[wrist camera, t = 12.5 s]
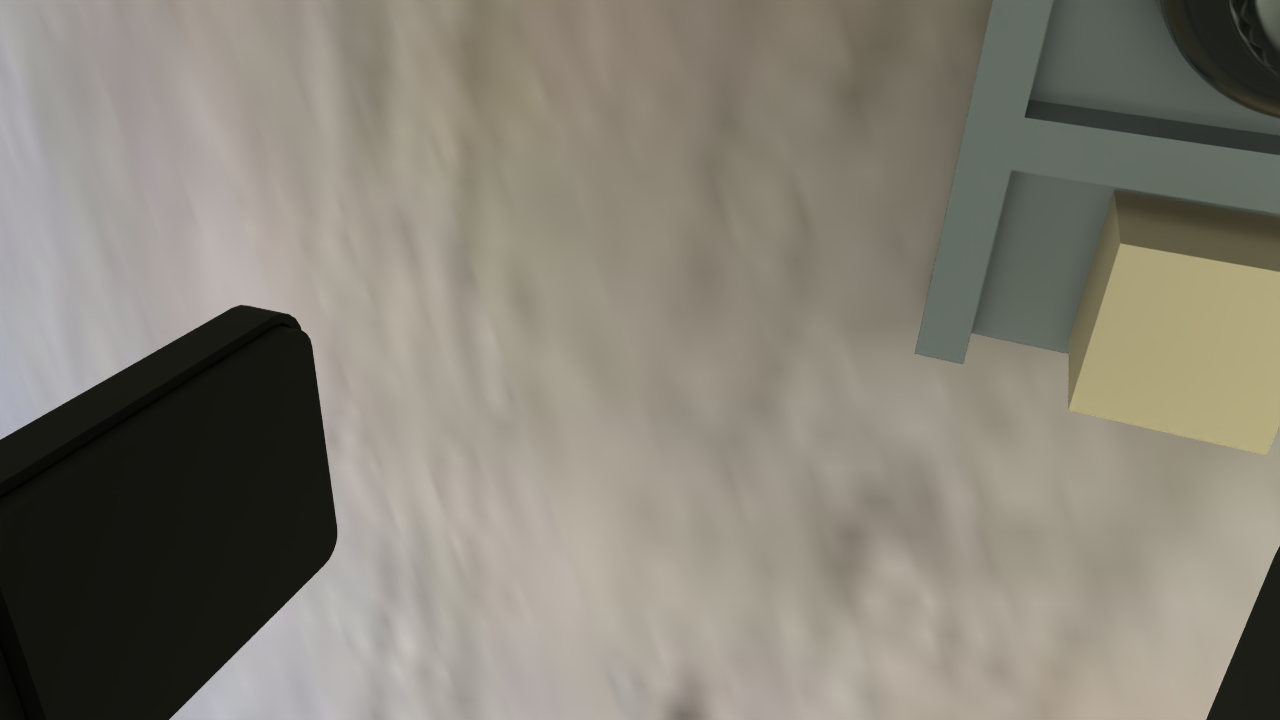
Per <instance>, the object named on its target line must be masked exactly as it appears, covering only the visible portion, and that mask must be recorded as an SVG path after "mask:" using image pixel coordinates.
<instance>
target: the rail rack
mask: <svg viewBox="0 0 1280 720" xmlns="http://www.w3.org/2000/svg"><path fill="white" fill-rule="evenodd" d="M971 333H973V334H978V335H983V336H987V337H992V338H997V339H1002V340H1006V341H1011V342H1016V343H1020V344H1025V345H1030V346H1035V347H1039V348H1044V349H1049V350H1053V351H1058V352H1063V353H1068V354H1069V396H1068V410H1069V411H1073V412H1078V413H1082V414H1087V415H1091V416H1095V417H1100V418H1104V419H1109V420H1113V421H1117V422H1122V423H1126V424H1131V425H1135V426H1139V427H1144V428H1148V429H1152V430H1157V431H1161V432H1166V433H1170V434H1174V435H1179V436H1183V437H1188V438H1192V439H1196V440H1201V441H1205V442H1210V443H1214V444H1218V445H1223V446H1227V447H1232V448H1236V449H1240V450H1245V451H1249V452H1254V453H1258V454H1262V455H1267V454H1268V451H1269V449H1270V447H1271V444H1272V442H1273V440H1274V437H1275V435H1276V433H1277V431H1278V428H1279V426H1280V119H1278V118H1274V117H1270V116H1267V115H1263V114H1260V113H1258V112H1255V111H1253V110H1250V109H1247V108H1245V107H1243V106H1241V105H1239V104H1237V103H1235V102H1233V101H1231V100H1230V99H1228V98H1227V97H1225V96H1224V95H1222V94H1221V93H1219V92H1218V91H1216V90H1215V89H1214V88H1213V87H1211V86H1210V85H1209V84H1208V83H1206V82H1205V81H1204V80H1203V79H1202V78H1201V77H1200V76H1199V75H1198V74H1197V73H1196V72H1195V71H1194V70H1193V69H1192V68H1191V66H1190V65H1189V64H1188V63H1187V61H1186V60H1185V59H1184V57H1183V56H1182V55H1181V53H1180V51H1179V50H1178V48H1177V46H1176V45H1175V43H1174V41H1173V39H1172V37H1171V35H1170V33H1169V31H1168V29H1167V27H1166V24H1165V22H1164V20H1163V18H1162V16H1161V14H1160V12H1159V10H1158V7H1157V5H1156V3H1155V1H1154V0H993V1H992V6H991V10H990V15H989V19H988V24H987V28H986V33H985V37H984V42H983V46H982V51H981V55H980V60H979V64H978V69H977V74H976V78H975V83H974V87H973V92H972V96H971V101H970V105H969V110H968V114H967V119H966V123H965V128H964V132H963V137H962V141H961V146H960V151H959V155H958V160H957V164H956V169H955V173H954V178H953V182H952V187H951V191H950V196H949V200H948V205H947V209H946V214H945V218H944V223H943V228H942V232H941V237H940V241H939V246H938V250H937V255H936V259H935V264H934V268H933V273H932V277H931V282H930V286H929V291H928V295H927V300H926V305H925V309H924V314H923V318H922V323H921V327H920V332H919V336H918V341H917V345H916V350H915V354H919V355H923V356H928V357H932V358H937V359H941V360H946V361H950V362H955V363H959V364H963V363H964V359H965V355H966V351H967V347H968V343H969V339H970V335H971Z"/></svg>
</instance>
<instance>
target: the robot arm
mask: <svg viewBox="0 0 1280 720" xmlns="http://www.w3.org/2000/svg"><path fill="white" fill-rule="evenodd" d="M336 541H337V523H336V516H335V509H334V501H333V494H332V487H331V480H330V473H329V465H328V458H327V451H326V444H325V436H324V429H323V422H322V415H321V407H320V400H319V393H318V386H317V378H316V371H315V364H314V357H313V349H312V344H311V341H310V338H309V337H308V335H307V334H306V333H305V332H303V331H302V330H301V326H300V325H299V323H298V322H297V320H296V319H295V318H294V317H292V316H291V315H289V314H285V313H280V312H275V311H271V310H266V309H261V308H256V307H251V306H244V305H239V306H236V307H234V308H231V309H229V310H228V311H226V312H224V313H222V314H221V315H219V316H217V317H215V318H214V319H212V320H210V321H208V322H207V323H205V324H203V325H201V326H200V327H198V328H196V329H194V330H193V331H191V332H189V333H187V334H186V335H184V336H182V337H180V338H179V339H177V340H175V341H173V342H171V343H170V344H168V345H166V346H164V347H163V348H161V349H159V350H157V351H156V352H154V353H152V354H150V355H149V356H147V357H145V358H143V359H142V360H140V361H138V362H136V363H135V364H133V365H131V366H129V367H128V368H126V369H124V370H122V371H121V372H119V373H117V374H115V375H114V376H112V377H110V378H108V379H107V380H105V381H103V382H101V383H99V384H98V385H96V386H94V387H92V388H91V389H89V390H87V391H85V392H84V393H82V394H80V395H78V396H77V397H75V398H73V399H71V400H70V401H68V402H66V403H64V404H63V405H61V406H59V407H57V408H56V409H54V410H52V411H50V412H49V413H47V414H45V415H43V416H42V417H40V418H38V419H36V420H35V421H33V422H31V423H29V424H27V425H26V426H24V427H22V428H20V429H19V430H17V431H15V432H13V433H12V434H10V435H8V436H6V437H5V438H3V439H1V440H0V720H169V719H170V718H171V717H172V716H173V715H174V714H175V713H176V712H177V711H178V710H179V709H180V708H181V707H182V706H183V705H184V704H185V703H186V702H187V701H188V700H189V699H190V698H191V697H192V696H193V695H194V694H195V693H196V692H197V691H198V690H199V689H200V688H201V687H202V686H203V685H204V684H205V683H206V682H207V681H208V680H209V679H210V678H211V677H212V676H213V675H214V674H215V673H216V672H217V671H218V670H219V669H220V668H221V667H222V666H223V665H224V664H225V663H226V662H227V661H228V660H229V659H230V658H231V657H232V656H233V655H234V654H235V653H236V652H237V651H238V650H239V649H240V648H241V647H242V646H243V645H244V644H245V643H246V642H248V641H249V640H250V639H251V638H252V637H253V636H254V635H255V634H256V633H257V632H258V631H259V630H260V629H261V628H262V627H263V626H264V625H265V624H266V623H267V622H268V621H269V620H270V619H271V618H272V617H273V616H274V615H275V614H276V613H277V612H278V611H279V610H280V609H281V608H282V607H283V606H284V605H285V604H286V603H287V602H288V601H289V600H290V599H291V598H292V597H293V596H294V595H295V594H296V593H297V592H298V591H299V590H300V589H301V588H302V587H303V586H304V585H305V584H306V583H307V582H308V581H309V580H310V579H311V578H312V577H313V576H314V575H315V574H316V573H317V572H318V571H319V570H320V569H321V568H322V567H323V566H324V565H325V564H326V562H327V561H328V560H329V558H330V557H331V555H332V553H333V551H334V548H335V545H336ZM1206 720H1280V547H1279V549H1278V550H1277V552H1276V554H1275V556H1274V559H1273V561H1272V564H1271V566H1270V568H1269V571H1268V573H1267V576H1266V578H1265V580H1264V583H1263V585H1262V587H1261V590H1260V592H1259V595H1258V597H1257V599H1256V602H1255V604H1254V607H1253V609H1252V611H1251V614H1250V616H1249V619H1248V621H1247V623H1246V626H1245V628H1244V631H1243V633H1242V635H1241V638H1240V640H1239V643H1238V645H1237V647H1236V650H1235V652H1234V655H1233V657H1232V659H1231V662H1230V664H1229V666H1228V669H1227V671H1226V674H1225V676H1224V678H1223V681H1222V683H1221V686H1220V688H1219V690H1218V693H1217V695H1216V698H1215V700H1214V702H1213V705H1212V707H1211V710H1210V712H1209V714H1208V717H1207V719H1206Z"/></svg>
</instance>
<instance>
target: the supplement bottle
mask: <svg viewBox="0 0 1280 720" xmlns="http://www.w3.org/2000/svg"><path fill="white" fill-rule="evenodd" d="M1154 1H1155V3H1156V5H1157V7H1158V10H1159V12H1160V14H1161V16H1162V18H1163V20H1164V22H1165V24H1166V27H1167V29H1168V31H1169V33H1170V35H1171V37H1172V39H1173V41H1174V43H1175V45H1176V46H1177V48H1178V50H1179V51H1180V53H1181V55H1182V56H1183V57H1184V59H1185V60H1186V61H1187V63H1188V64H1189V65H1190V66H1191V68H1192V69H1193V70H1194V71H1195V72H1196V73H1197V74H1198V75H1199V76H1200V77H1201V78H1202V79H1203V80H1204V81H1205V82H1206V83H1208V84H1209V85H1210V86H1211V87H1213V88H1214V89H1215V90H1216V91H1218V92H1219V93H1221V94H1222V95H1224V96H1225V97H1227V98H1228V99H1230V100H1231V101H1233V102H1235V103H1237V104H1239V105H1241V106H1243V107H1245V108H1247V109H1250V110H1253V111H1255V112H1258V113H1260V114H1263V115H1267V116H1270V117H1274V118H1278V119H1280V0H1154Z"/></svg>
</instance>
